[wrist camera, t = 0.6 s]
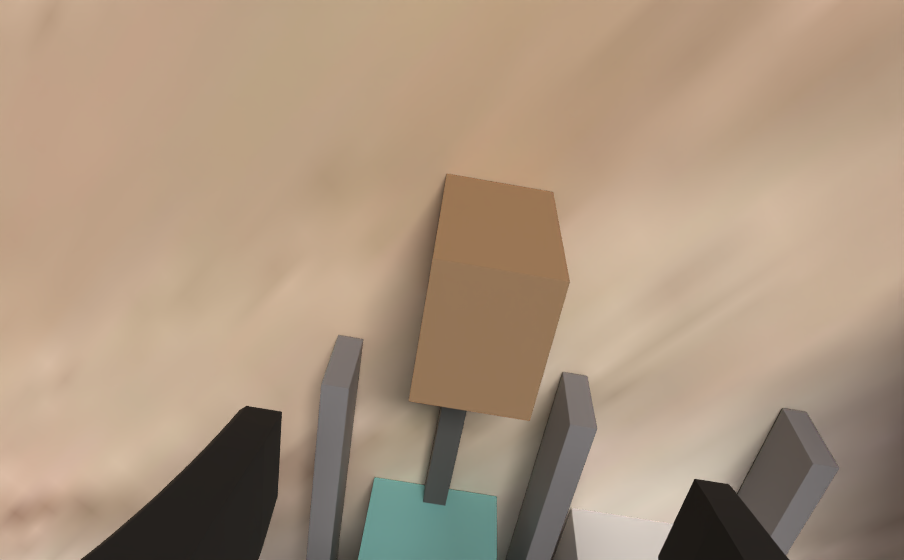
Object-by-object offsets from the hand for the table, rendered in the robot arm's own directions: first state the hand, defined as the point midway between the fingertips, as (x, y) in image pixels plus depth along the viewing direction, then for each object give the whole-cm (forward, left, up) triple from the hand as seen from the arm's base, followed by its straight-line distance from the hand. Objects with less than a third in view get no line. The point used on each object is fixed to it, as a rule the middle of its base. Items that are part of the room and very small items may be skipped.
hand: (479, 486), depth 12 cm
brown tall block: (0, +7, -9) cm, 11 cm away
